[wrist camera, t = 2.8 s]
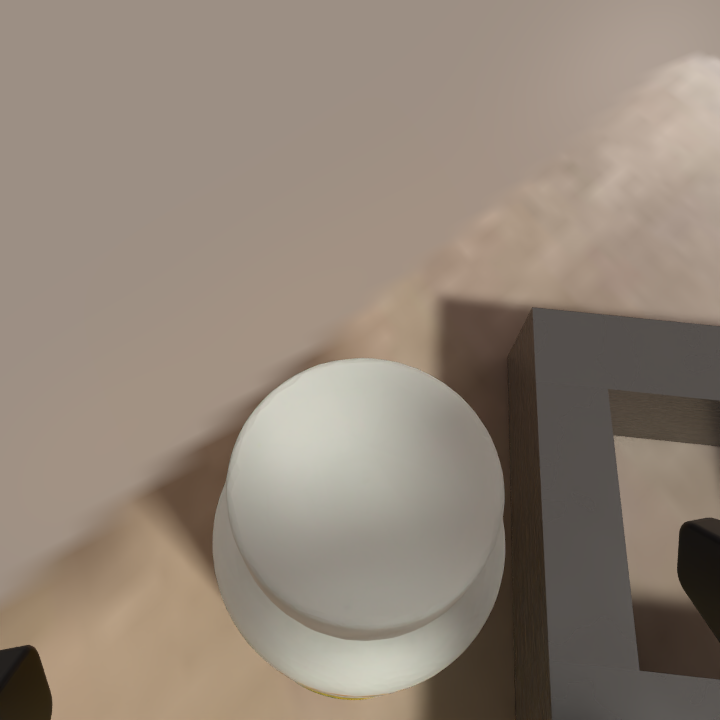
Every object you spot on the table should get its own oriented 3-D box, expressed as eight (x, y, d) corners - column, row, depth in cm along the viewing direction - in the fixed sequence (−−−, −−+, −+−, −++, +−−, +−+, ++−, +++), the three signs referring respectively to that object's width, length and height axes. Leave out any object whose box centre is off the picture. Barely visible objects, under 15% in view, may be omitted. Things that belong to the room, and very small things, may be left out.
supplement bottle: (425, 725, 15) (532, 758, 7) (226, 666, 16) (102, 629, 8) (462, 520, 18) (572, 364, 10) (289, 474, 18) (249, 288, 10)
